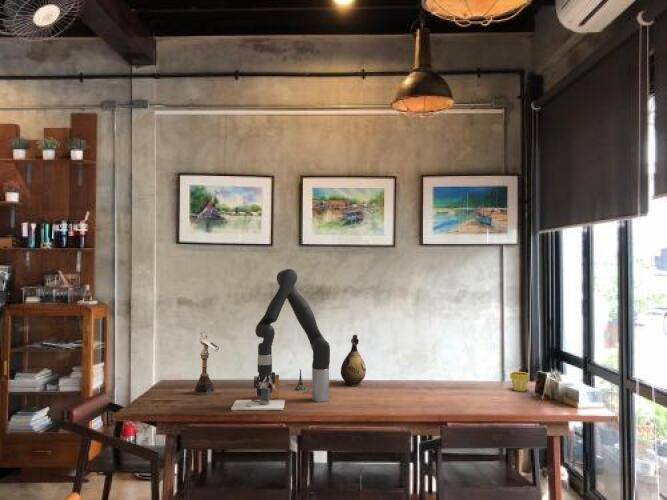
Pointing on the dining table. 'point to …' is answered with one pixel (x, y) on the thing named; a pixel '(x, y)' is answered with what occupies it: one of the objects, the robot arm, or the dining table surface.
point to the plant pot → (519, 380)
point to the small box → (274, 387)
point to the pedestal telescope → (205, 369)
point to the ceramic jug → (353, 366)
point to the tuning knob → (264, 396)
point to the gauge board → (258, 405)
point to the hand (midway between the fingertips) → (264, 394)
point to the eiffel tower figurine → (301, 385)
